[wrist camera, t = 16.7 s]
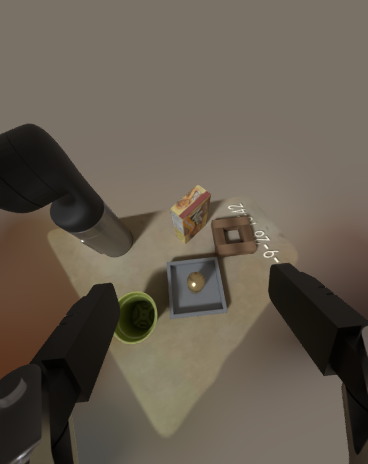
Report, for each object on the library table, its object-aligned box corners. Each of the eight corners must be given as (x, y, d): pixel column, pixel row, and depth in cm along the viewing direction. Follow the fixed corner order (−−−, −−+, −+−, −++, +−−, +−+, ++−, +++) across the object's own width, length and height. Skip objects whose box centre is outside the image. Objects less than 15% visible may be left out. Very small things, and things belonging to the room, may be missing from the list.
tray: (171, 318, 41) (170, 319, 38) (168, 265, 46) (166, 262, 44) (225, 312, 41) (227, 312, 38) (215, 259, 46) (217, 256, 44)
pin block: (217, 257, 46) (218, 254, 44) (210, 225, 51) (211, 220, 48) (253, 253, 46) (257, 250, 44) (244, 221, 50) (247, 216, 48)
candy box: (196, 216, 52) (197, 183, 38) (206, 224, 51) (211, 193, 37) (175, 236, 50) (168, 208, 36) (186, 245, 48) (183, 220, 34)
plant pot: (165, 294, 43) (158, 291, 35) (162, 337, 40) (155, 344, 32) (129, 293, 44) (115, 290, 36) (123, 336, 40) (106, 343, 32)
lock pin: (189, 295, 42) (188, 291, 31) (187, 281, 44) (185, 272, 32) (202, 293, 42) (206, 289, 31) (200, 279, 44) (203, 270, 32)
